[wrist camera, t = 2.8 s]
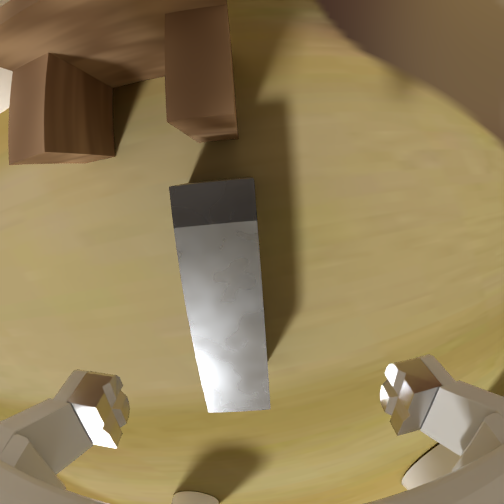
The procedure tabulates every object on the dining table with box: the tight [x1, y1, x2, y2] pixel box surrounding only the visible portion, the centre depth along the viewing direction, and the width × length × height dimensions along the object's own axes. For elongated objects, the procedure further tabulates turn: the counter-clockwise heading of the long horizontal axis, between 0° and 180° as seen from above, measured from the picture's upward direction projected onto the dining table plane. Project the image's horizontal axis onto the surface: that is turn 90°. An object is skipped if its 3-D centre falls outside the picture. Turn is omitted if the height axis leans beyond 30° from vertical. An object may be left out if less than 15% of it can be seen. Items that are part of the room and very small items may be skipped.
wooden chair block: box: [0, 0, 238, 165], centre depth 11 cm, size 11×6×12 cm, turn 94°
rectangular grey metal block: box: [169, 177, 270, 412], centre depth 18 cm, size 4×14×5 cm, turn 4°
